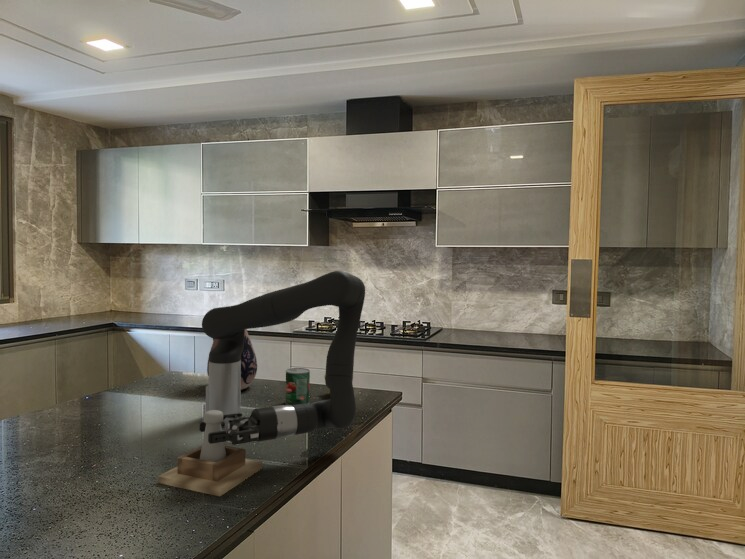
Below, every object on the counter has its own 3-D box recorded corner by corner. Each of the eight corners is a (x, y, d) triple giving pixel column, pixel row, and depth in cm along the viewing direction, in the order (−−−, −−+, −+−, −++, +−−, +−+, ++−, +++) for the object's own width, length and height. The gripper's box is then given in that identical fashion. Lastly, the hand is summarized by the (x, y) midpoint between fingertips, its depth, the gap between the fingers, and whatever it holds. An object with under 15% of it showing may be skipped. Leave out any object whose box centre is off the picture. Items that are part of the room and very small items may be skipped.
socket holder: (158, 483, 120) (158, 460, 119) (205, 457, 134) (205, 437, 134) (220, 496, 114) (220, 472, 113) (262, 468, 129) (262, 447, 128)
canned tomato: (314, 402, 184) (314, 369, 184) (298, 408, 178) (299, 374, 177) (295, 398, 188) (296, 366, 188) (280, 404, 182) (280, 370, 181)
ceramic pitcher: (231, 397, 188) (232, 324, 187) (189, 388, 199) (189, 318, 198) (267, 387, 203) (268, 319, 202) (226, 379, 214) (226, 314, 213)
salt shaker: (218, 475, 121) (219, 416, 120) (194, 472, 122) (194, 414, 121) (230, 465, 126) (231, 408, 126) (207, 462, 127) (207, 406, 127)
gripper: (264, 399, 137) (196, 407, 129) (285, 415, 124) (211, 425, 116) (263, 429, 137) (196, 439, 129) (284, 448, 125) (211, 460, 117)
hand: (203, 432), depth 123 cm, fingers open, 8 cm apart
